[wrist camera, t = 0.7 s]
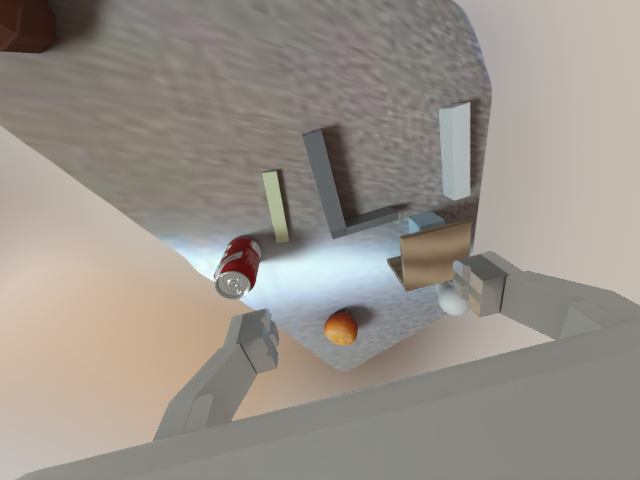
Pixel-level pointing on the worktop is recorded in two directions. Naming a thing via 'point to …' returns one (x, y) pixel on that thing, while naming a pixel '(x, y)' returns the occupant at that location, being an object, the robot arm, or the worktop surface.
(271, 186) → the pale green stick
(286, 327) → the worktop surface
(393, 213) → the hook tool
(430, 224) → the block
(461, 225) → the shelf
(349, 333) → the fruit
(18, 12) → the muffin
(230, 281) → the soda can
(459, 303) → the lightbulb
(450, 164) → the grey stick
